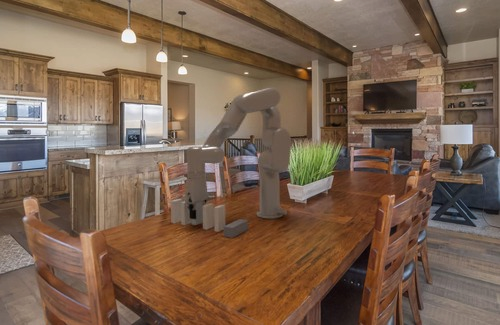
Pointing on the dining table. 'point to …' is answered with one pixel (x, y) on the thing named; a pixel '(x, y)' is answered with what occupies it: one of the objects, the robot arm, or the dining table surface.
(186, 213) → the tile
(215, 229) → the tile
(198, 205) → the tile
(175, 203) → the end tile
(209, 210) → the tile
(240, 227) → the end block
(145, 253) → the dining table surface
